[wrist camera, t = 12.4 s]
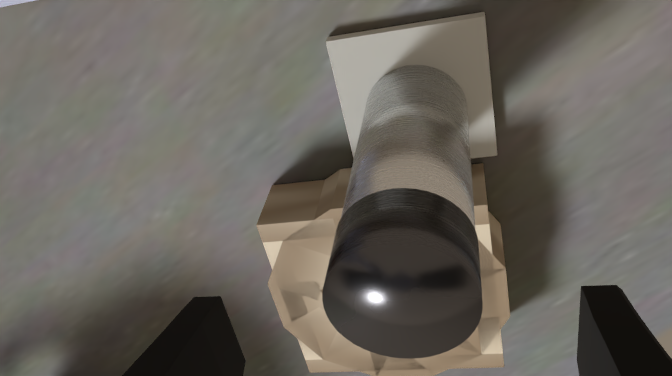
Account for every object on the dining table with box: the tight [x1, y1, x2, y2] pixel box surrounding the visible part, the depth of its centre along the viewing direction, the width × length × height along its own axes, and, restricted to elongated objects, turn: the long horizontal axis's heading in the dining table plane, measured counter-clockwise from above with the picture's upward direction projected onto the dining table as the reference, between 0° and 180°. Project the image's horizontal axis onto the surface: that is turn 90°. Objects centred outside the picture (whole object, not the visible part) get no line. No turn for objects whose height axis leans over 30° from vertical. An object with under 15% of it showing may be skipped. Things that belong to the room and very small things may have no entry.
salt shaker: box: [322, 65, 483, 359], centre depth 17 cm, size 4×4×9 cm
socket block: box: [257, 163, 510, 376], centre depth 24 cm, size 9×9×2 cm
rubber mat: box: [326, 12, 497, 158], centre depth 21 cm, size 5×5×1 cm
